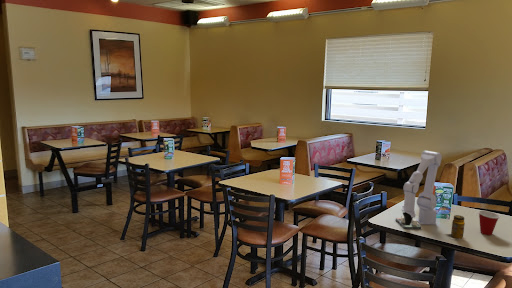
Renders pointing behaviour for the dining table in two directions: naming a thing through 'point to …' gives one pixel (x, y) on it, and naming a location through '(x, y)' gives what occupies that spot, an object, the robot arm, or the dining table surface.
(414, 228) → the breaker panel
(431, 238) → the dining table surface
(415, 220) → the breaker
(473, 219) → the dining table surface
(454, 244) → the dining table surface
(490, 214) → the plastic cup
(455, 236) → the condiment
